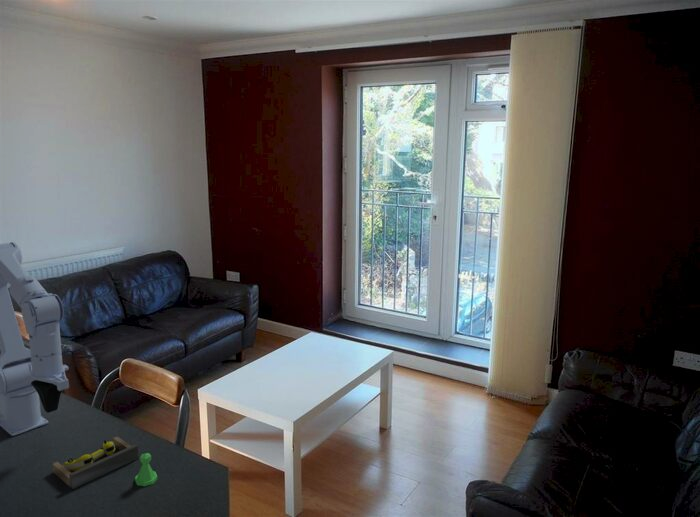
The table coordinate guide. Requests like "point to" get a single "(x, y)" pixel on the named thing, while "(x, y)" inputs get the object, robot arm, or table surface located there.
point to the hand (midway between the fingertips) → (51, 410)
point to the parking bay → (98, 465)
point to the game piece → (145, 472)
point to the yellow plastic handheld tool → (90, 457)
